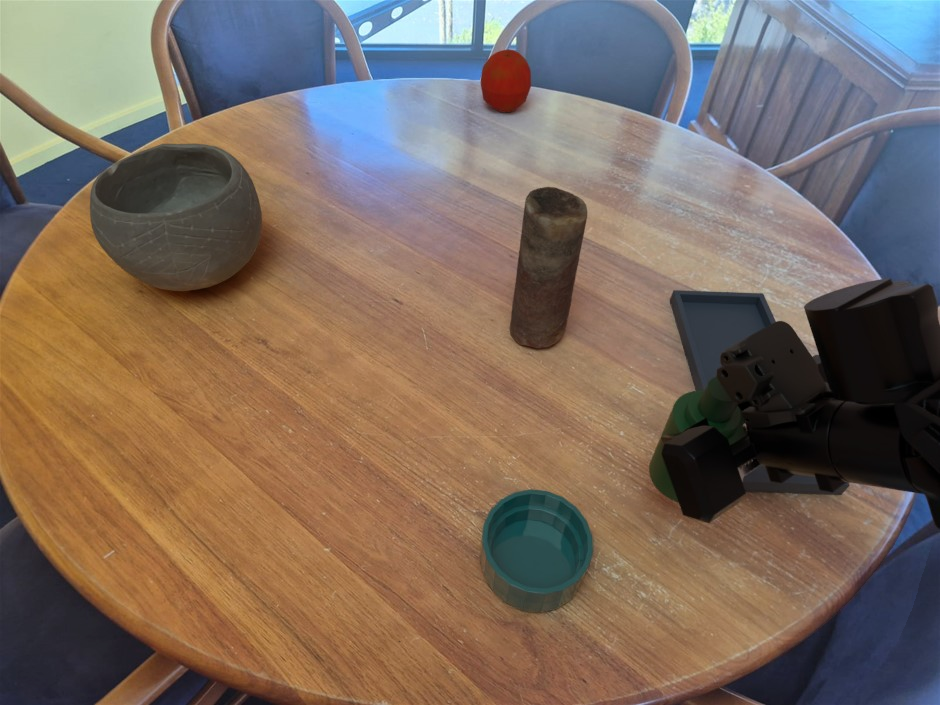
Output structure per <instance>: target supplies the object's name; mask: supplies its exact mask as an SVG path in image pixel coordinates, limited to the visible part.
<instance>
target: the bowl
mask: <svg viewBox="0 0 940 705" xmlns="http://www.w3.org/2000/svg"><path fill="white" fill-rule="evenodd" d="M89 197H90V198H89V217H90V224H91V228H92V232H93V235H94V237H95V239H96V241H97V243H98V244H99V246H100V247H101V249H102V250H103V251H104V252H105V254H106V255H107V256H108V257H109V258H110V259H111V260H112V261H113V262H114V263H115V265H117V266H118V267H119V268H121V269H122V270H123V271H124V272H126V273H127V274H128V275H130V276H131V277H132V278H135V279H136V280H138V281H139V282H141V283H143V284H145V285H148V286H150V287H153V288H155V289H161V290H164V291H173V292H187V291H188V292H189V291H195V290H202V289H207V288H210V287H213V286H216V285H218V284H220V283H223V282H225V281H227V280H228V279H230V278H231V277H233V276H234V275H236V274H237V273H239V272H240V271H241V270H242V269H243V268H244V267H245V265H247V264H248V263H249V261H251V259H252V257H253V256H254V255H255V253H256V250H257V249H258V247H259V242H260V239H261V236H262V227H263V224H262V223H263V216H262V208H261V202H260V199H259V196H258V192H257V190H256V186H255V183H254V181H253V179H252V177H251V176H250V174H249V173H248V171H247V169H246V168H245V167H244V166H243V164H242V163H241V162H240V161H239V160H238V159H237V158H236V157H235V156H234V155H232V154H231V153H230V152H228V151H226V150H225V149H223V148H220V147H218V146H215V145H209V144H205V143H161V144H158V145H155V146H153V147H150V148H146V149H143V150H141V151H138V152H136V153H134V154H131V155H129V156H126V157H123V158H122V159H120V160H118V161H116V162H114V163H113V164H111V165H110V166H109V167H107V168H105V169H104V170H102V172H101V173H100V174H99V175H98V176H97V177H96V178H95V180H94V181H93V183H92V185H91V188H90V195H89Z"/></svg>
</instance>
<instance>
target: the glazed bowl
mask: <svg viewBox="0 0 940 705" xmlns="http://www.w3.org/2000/svg"><path fill="white" fill-rule="evenodd" d="M593 539H594V538H593V534H592V531H591V528H590V526H589V523H588V521H587V519H586V517H585V516H584V515H583V514H582V513H581V510H579V509H578V507H577V506H576V505H575V504H573V503H571V502H570V501H569V500H567V498H565V497H563V496H561V495H558V494H557V493H553V492H551V491H548V490H543V489H532V488H531V489H523V490H519V491H515V492H512V493H511V494H509V495H506V496H505V497H503V498H501V499H499V501H498V502H497V503H496V504H494V506H493V507H492V508H491V509H490V510H489V512H488V514H487V516H486V518H485V520H484V522H483V525H482V535H481V548H480V557H479V558H480V559H479V563H480V568H481V570H482V575H483V577H484V580H485V581H486V583H487V584H488V586H489V588H490V590H491V592H493V593H494V594H495V596H497V597H498V598H499V599H501V600H502V601H503V602H504V603H505V604H507V605H509V606H511V607H513V608H515V609H518V610H520V611H522V612H523V611H524V612H529V613H530V612H532V613H545V612H550V611H553V610H557V609H560V608H561V607H562V606H564V605H565V604H567V603H569V602H571V600H572V599H573V598H574V597H575V595H576V594H577V593H578V592H579V590H580V589H581V587H582V586H583V583H584V580H585V578H586V575H587V572H588V570H589V567H590V564H591V560H592V558H593V554H594V540H593Z"/></svg>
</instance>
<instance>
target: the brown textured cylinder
mask: <svg viewBox="0 0 940 705" xmlns="http://www.w3.org/2000/svg"><path fill="white" fill-rule="evenodd" d="M587 221H588V206H587V203H585V201H584V199H582V198H580V197H579V196H577V195H575V194H573V193H572V192H569V191H566V190H564V189H560V188H558V187H554V186H544V187H543V186H542V187H538V188H536V189H532V190H531V191H529V192H528V195H527V196H526V197H525V202H524V210H523V215H522V225H521V234H520V239H519V240H520V241H519V250H518V258H517V267H516V275H515V282H514V290H513V297H512V305H511V312H510V313H511V316H510V325H509V334H510V336H511V337H512V338H513V340H514V341H515V342H516V343H517V344H518V345H521V346H527V347H532V348H536V349H543V348H549V347H551V346H552V345H555V344H556V343H558V341H560V339H562V338H563V336H564V335H565V333H566V331H567V330H566V329H567V326H568V320H569V314H570V309H571V306H572V300H573V293H574V287H575V282H576V277H577V271H578V267H579V266H578V265H579V263H580V262H579V261H580V255H581V251H582V246H583V240H584V236H585V230H586V225H587Z"/></svg>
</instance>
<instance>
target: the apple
mask: <svg viewBox="0 0 940 705" xmlns="http://www.w3.org/2000/svg"><path fill="white" fill-rule="evenodd" d="M481 68H482V69H481V75H480V88H481V94H482V99H483V101H484V102H485V103H486V104H487V105H489V106H490V107H491V108H492V109H494V110H496V111H498V112H500V113H511V112H514V111H516V110H517V109H518V108H520V107H521V106H522V105H523V104H524V103H525V102H526V101H527V99H528V97H529V93H530V90H531V87H532V72H531V67H530V65H529V63H528V61H527V59H526V58H525V57H524V55H522V54H521V53H519V52H518V51H516V50H514V49H509V48H507V49H503V50H499V51H497V52H495V53H493V54H491V56H490V57H489V58H488V59H487V60H486V62H485V63H484V65H483V66H482V67H481Z"/></svg>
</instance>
